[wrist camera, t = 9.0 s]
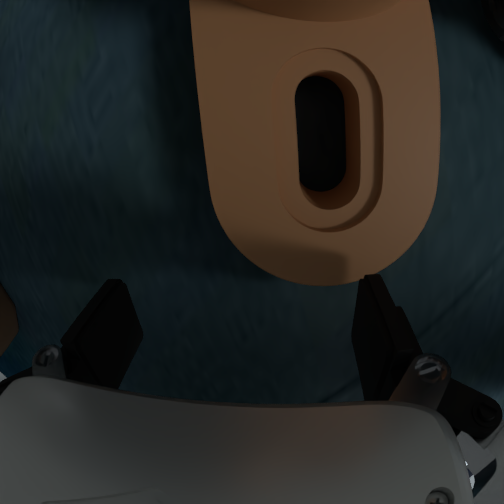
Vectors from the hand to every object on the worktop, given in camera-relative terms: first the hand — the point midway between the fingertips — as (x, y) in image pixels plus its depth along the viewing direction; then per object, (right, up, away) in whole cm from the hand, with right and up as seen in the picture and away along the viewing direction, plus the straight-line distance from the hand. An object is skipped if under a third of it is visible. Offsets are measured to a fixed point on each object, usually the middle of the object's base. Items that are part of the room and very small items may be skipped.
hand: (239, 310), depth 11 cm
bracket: (+3, +10, -1) cm, 11 cm away
